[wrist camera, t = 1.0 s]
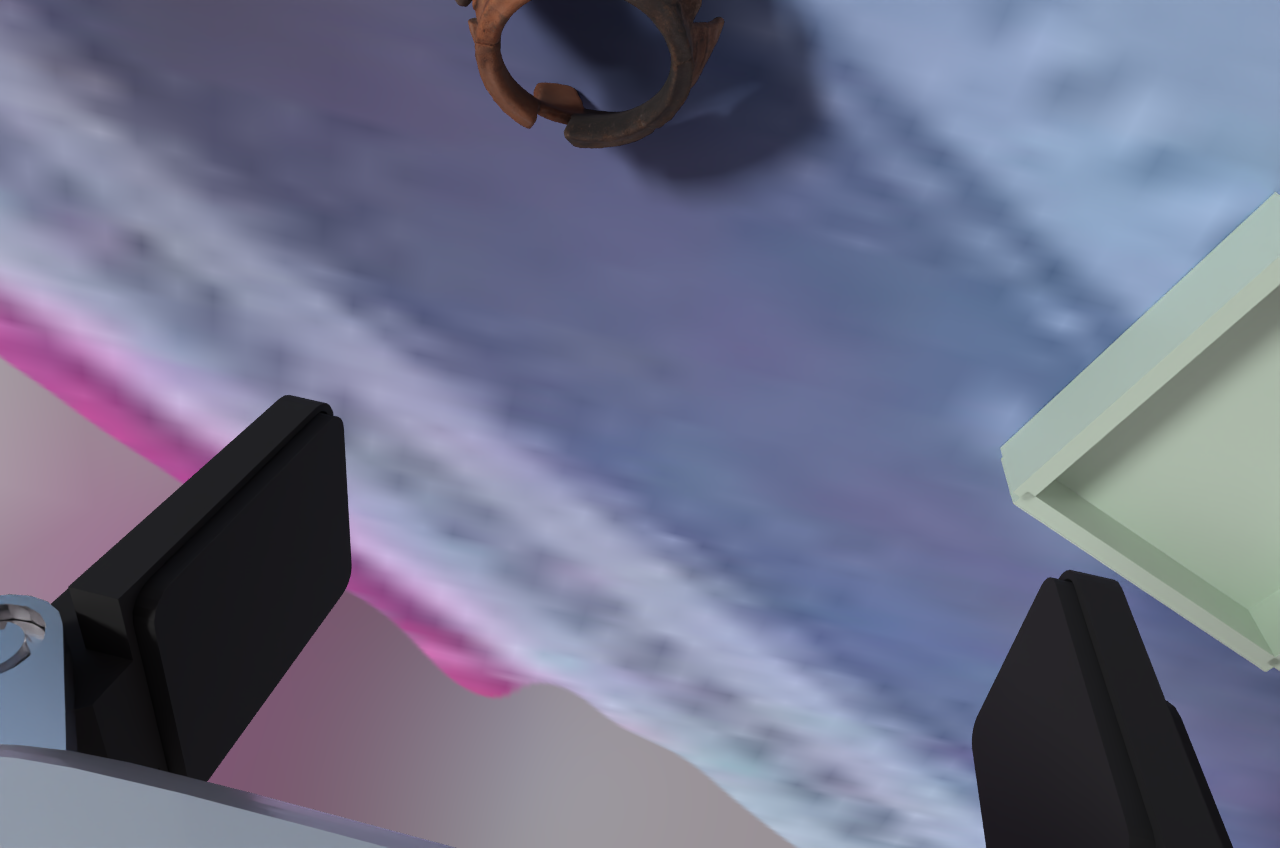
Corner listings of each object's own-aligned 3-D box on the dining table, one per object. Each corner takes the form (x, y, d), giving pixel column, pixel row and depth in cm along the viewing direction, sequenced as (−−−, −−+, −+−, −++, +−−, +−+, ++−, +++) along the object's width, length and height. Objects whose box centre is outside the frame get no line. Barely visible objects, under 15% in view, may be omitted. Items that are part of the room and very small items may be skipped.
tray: (1275, 192, 32) (1318, 221, 29) (1562, 408, 34) (1631, 457, 31) (993, 453, 40) (1005, 498, 37) (1242, 621, 42) (1272, 676, 39)
